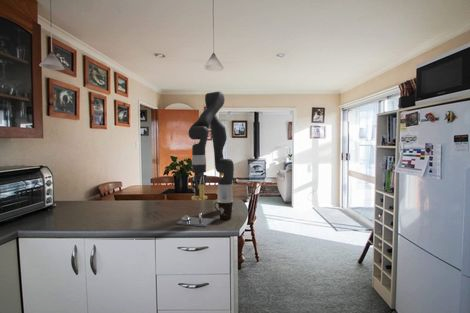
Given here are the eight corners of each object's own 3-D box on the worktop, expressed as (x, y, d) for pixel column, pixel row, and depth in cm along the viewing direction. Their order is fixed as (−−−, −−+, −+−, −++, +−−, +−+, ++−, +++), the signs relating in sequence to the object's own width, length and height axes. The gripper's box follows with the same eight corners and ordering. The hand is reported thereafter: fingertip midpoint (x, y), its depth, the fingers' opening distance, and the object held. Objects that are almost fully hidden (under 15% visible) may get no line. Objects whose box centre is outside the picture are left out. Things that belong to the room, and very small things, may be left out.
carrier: (187, 218, 160) (187, 209, 159) (214, 220, 154) (214, 211, 154) (176, 224, 148) (176, 214, 148) (205, 226, 143) (205, 217, 143)
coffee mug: (235, 219, 157) (235, 201, 157) (222, 221, 153) (222, 203, 152) (226, 215, 167) (226, 198, 167) (213, 216, 163) (213, 200, 162)
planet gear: (196, 197, 156) (195, 182, 155) (209, 197, 153) (209, 183, 152) (188, 199, 148) (188, 184, 147) (203, 200, 145) (203, 185, 145)
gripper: (198, 162, 157) (199, 192, 158) (186, 164, 144) (186, 196, 145) (210, 162, 155) (211, 193, 156) (199, 164, 141) (199, 197, 142)
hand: (199, 194), depth 150 cm, fingers closed on planet gear, 5 cm apart
